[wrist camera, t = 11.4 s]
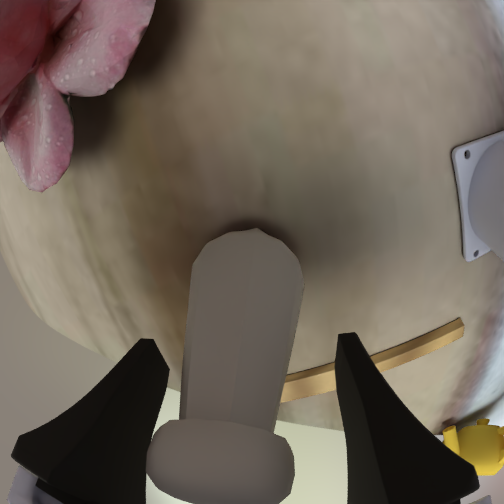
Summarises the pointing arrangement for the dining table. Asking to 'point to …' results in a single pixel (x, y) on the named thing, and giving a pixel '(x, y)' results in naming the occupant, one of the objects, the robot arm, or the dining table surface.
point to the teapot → (478, 445)
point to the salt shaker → (233, 376)
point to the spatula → (325, 375)
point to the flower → (59, 73)
